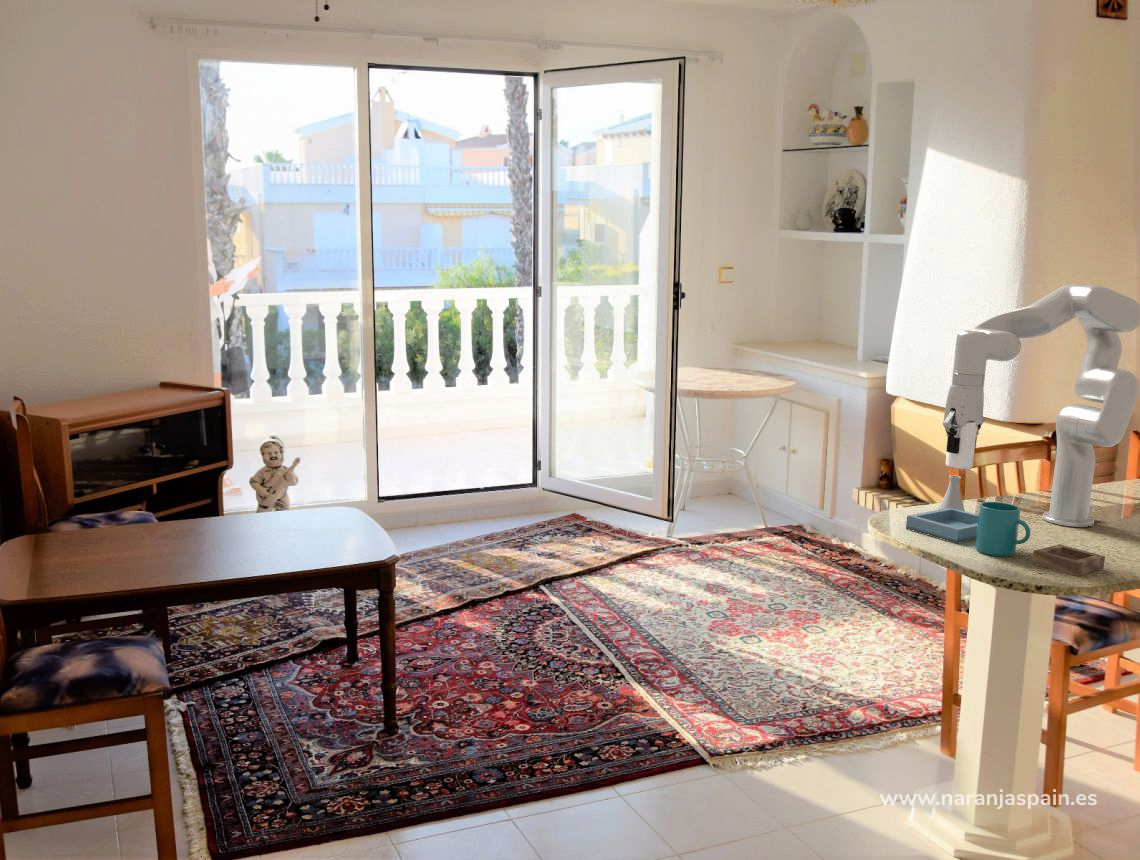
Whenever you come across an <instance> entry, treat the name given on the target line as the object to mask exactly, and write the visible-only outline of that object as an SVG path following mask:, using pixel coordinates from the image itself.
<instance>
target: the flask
mask: <svg viewBox="0 0 1140 860" xmlns="http://www.w3.org/2000/svg"><path fill="white" fill-rule="evenodd" d="M948 477H949V483H948V487H947V490H946V492H945V495H944V496H943V499H942V500H941V503H940V504H939V507H938V509H937V510H940V509H945V508H954V509H958V510H962V511H965V506H964V503H963V500H962V499H963V498H962V494H961V489H960V488H961V487H960V486H961V485H960V481H961V480H962V476H960V475H954V474H951V475H948ZM965 512H966V511H965Z"/></svg>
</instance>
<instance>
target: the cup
mask: <svg viewBox="0 0 1140 860" xmlns="http://www.w3.org/2000/svg"><path fill="white" fill-rule="evenodd" d="M978 506H979V507H978V514H977V515H978V524H977V533H976V539H975V543H974V544H975V546H974V548H975V550H976V551H977V552H978V553H981V554H983V553H984V555H987V556H991V555H992V556H991V557H998V558H999V557H1003V558H1005V557H1006V558H1007V557H1011V556H1015V554H1016V551H1017V545H1022V544H1025V543H1026V542H1027V541H1028V540H1029V538H1030V537H1031V528H1030V526H1029V524H1028V523H1027V522H1025V521H1024V520H1022V519H1020V515H1021V508H1020V507H1019V506H1017V505H1014V504H1011V503H1008V502H1007V503H1006V502H999V501H983V502H980V503H979V505H978ZM1019 525H1021V526H1022V527H1023V528H1024V530H1025V535H1024V537H1023V538H1022V539H1018V534H1019V533H1018V532H1019Z"/></svg>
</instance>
